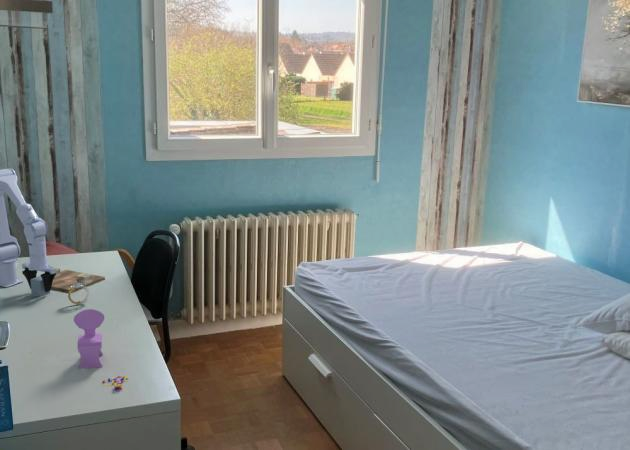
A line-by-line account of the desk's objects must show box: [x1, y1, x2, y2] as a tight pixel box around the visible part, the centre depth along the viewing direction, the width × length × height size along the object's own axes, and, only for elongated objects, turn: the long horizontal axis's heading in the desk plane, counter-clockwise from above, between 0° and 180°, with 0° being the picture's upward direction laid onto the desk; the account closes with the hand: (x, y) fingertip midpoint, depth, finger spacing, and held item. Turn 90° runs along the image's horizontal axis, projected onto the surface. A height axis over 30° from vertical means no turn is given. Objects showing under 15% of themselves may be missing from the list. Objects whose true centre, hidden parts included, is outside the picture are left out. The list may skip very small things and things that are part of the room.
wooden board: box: [51, 267, 106, 294], centre depth 257 cm, size 20×18×4 cm
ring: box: [67, 282, 90, 306], centre depth 233 cm, size 7×3×8 cm, turn 110°
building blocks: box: [102, 374, 129, 391], centre depth 178 cm, size 6×8×2 cm
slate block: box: [30, 275, 51, 297], centre depth 243 cm, size 4×4×6 cm
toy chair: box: [73, 308, 105, 370], centre depth 188 cm, size 8×9×15 cm
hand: (40, 289), depth 243 cm, fingers open, 7 cm apart
